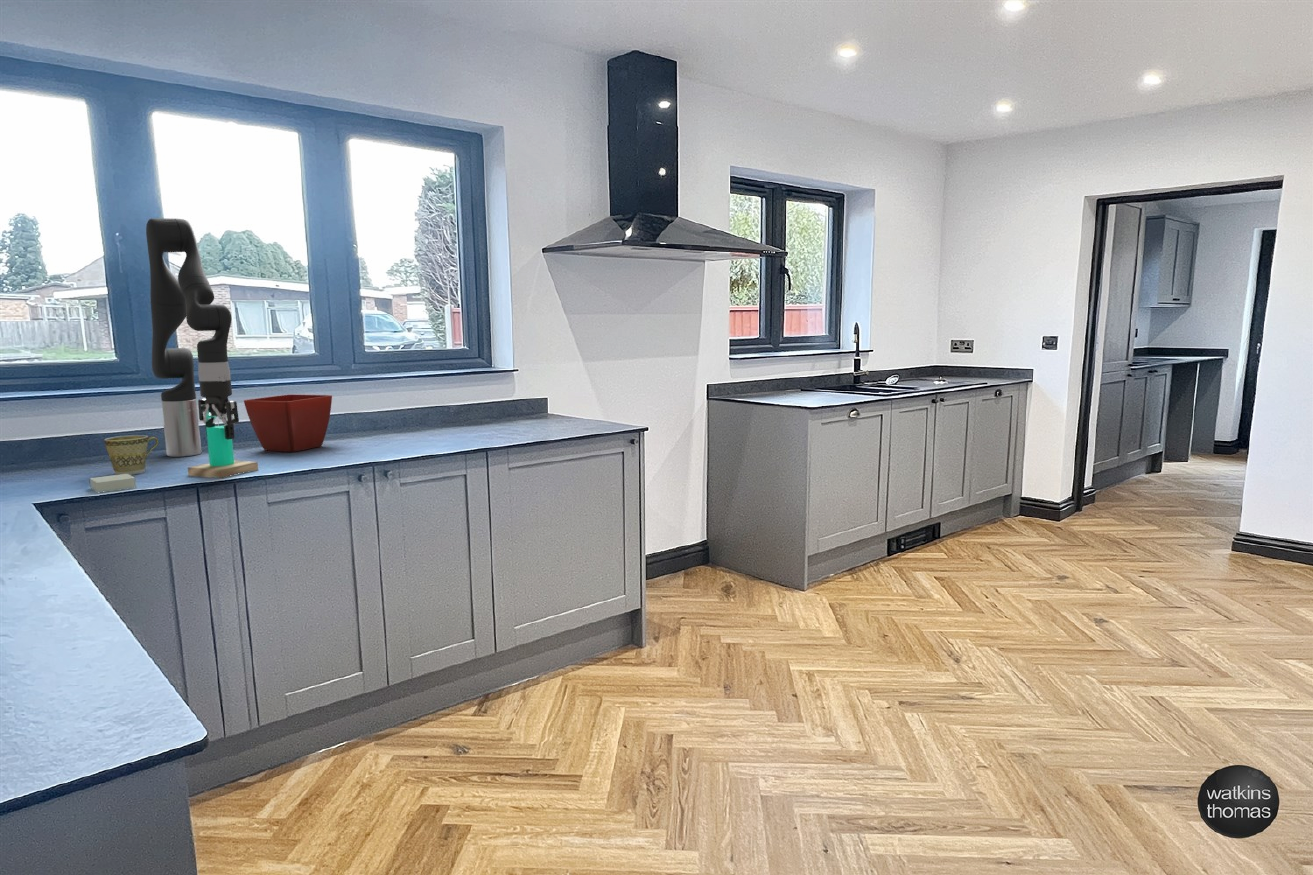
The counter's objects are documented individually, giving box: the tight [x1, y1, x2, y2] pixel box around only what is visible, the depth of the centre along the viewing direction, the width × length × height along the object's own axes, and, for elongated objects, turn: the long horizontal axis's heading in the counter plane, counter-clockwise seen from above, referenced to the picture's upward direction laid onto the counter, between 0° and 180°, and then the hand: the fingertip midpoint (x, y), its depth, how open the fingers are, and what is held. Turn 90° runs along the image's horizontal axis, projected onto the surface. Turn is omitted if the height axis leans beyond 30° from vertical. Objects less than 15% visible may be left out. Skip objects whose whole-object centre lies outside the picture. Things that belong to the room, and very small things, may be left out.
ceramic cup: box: [103, 434, 159, 476], centre depth 216 cm, size 13×10×10 cm
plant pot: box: [243, 393, 333, 453], centre depth 253 cm, size 19×19×17 cm
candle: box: [205, 420, 235, 466], centre depth 215 cm, size 6×6×12 cm
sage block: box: [89, 474, 137, 493], centre depth 197 cm, size 8×8×3 cm
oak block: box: [187, 459, 259, 479], centre depth 215 cm, size 12×12×3 cm
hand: (220, 437), depth 214 cm, fingers open, 8 cm apart
